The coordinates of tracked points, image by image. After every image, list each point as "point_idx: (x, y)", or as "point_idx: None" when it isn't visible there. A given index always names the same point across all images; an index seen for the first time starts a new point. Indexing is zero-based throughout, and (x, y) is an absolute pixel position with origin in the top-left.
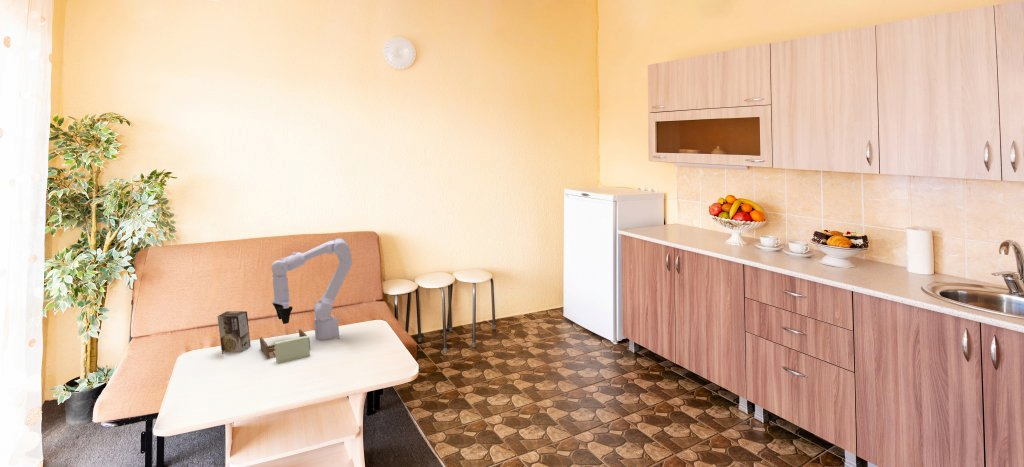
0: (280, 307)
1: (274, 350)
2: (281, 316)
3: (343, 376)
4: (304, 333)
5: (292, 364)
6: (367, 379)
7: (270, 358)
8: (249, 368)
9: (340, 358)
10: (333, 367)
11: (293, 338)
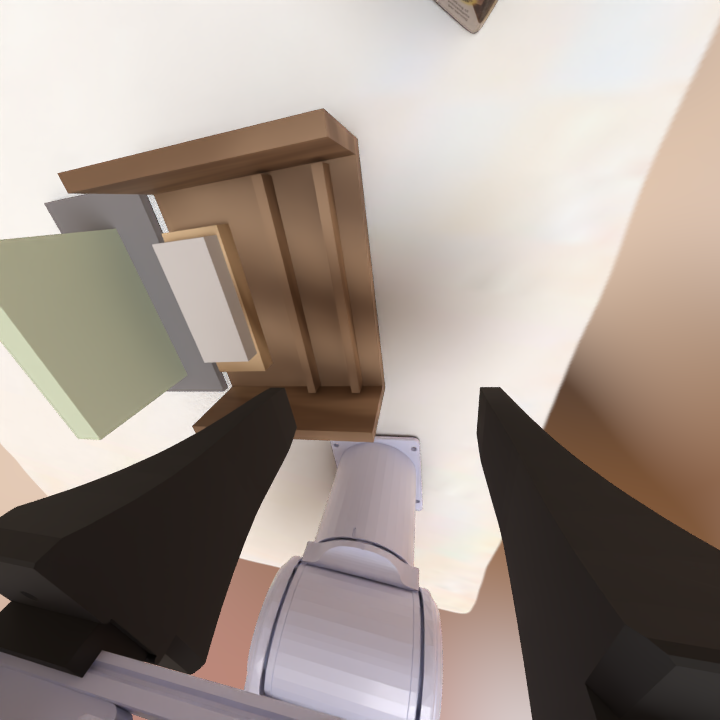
0: (77, 605)
1: (213, 235)
2: (181, 441)
3: (22, 409)
4: None
5: None
6: (13, 442)
7: (156, 199)
8: (63, 43)
9: (154, 442)
10: None
11: (50, 372)
